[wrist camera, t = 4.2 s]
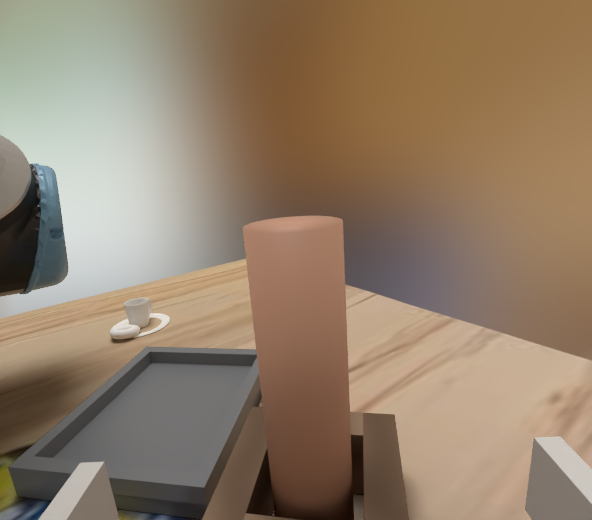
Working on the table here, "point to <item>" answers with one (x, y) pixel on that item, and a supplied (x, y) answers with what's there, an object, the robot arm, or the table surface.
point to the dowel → (303, 362)
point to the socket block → (365, 471)
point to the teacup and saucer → (137, 319)
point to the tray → (152, 431)
